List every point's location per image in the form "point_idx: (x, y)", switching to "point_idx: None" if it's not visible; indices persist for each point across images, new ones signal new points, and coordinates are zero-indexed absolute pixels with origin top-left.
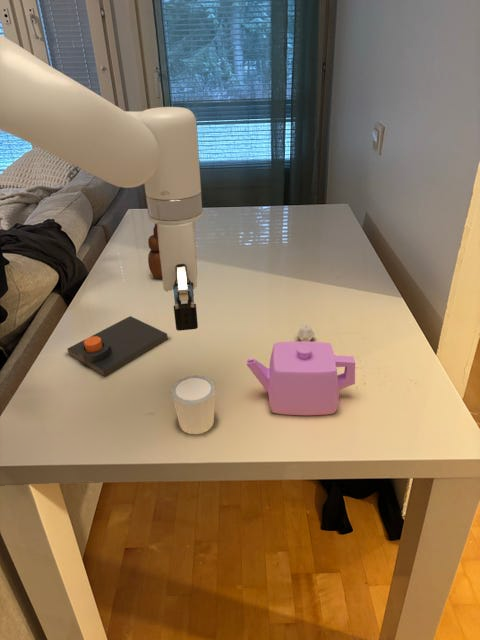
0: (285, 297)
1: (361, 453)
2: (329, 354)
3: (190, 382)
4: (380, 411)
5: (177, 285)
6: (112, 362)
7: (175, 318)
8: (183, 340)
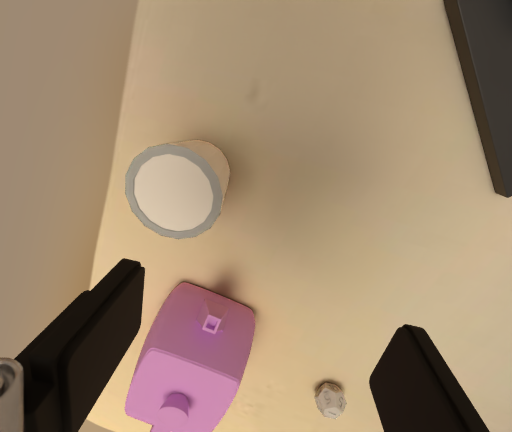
0: None
1: None
2: (170, 427)
3: (198, 195)
4: None
5: (430, 410)
6: (478, 26)
7: (84, 297)
8: (464, 222)
